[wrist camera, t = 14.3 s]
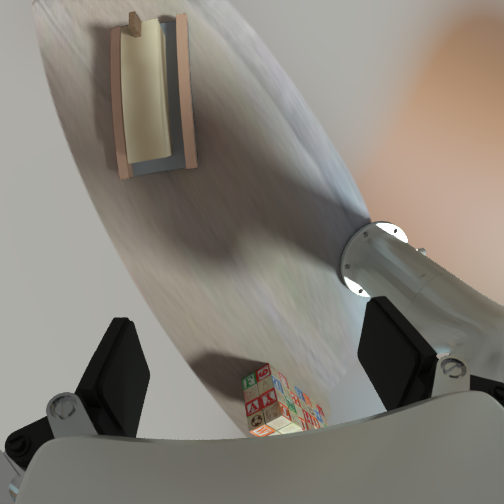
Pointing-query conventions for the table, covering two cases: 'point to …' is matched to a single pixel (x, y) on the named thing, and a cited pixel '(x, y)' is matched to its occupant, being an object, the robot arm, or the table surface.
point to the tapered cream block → (145, 90)
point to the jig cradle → (177, 102)
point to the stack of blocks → (278, 405)
